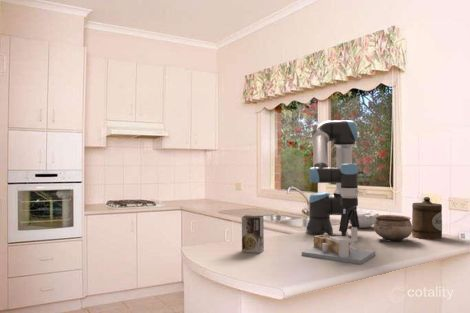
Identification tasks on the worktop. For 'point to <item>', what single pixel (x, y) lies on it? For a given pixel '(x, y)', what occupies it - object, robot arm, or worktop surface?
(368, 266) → the worktop surface
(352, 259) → the pintle base
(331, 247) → the link
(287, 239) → the worktop surface
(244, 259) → the worktop surface
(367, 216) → the bowl
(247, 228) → the coffee box
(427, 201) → the wooden container
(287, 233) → the worktop surface
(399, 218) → the cooking pot
